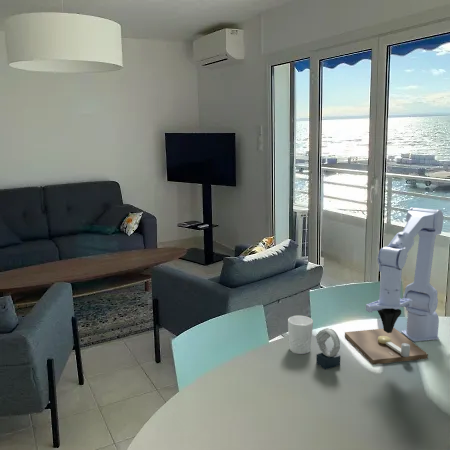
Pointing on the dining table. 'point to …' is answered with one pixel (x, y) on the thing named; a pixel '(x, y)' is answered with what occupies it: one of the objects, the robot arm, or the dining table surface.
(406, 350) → the lever
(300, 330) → the white cup
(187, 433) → the dining table surface
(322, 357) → the watch
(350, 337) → the brown wooden board
